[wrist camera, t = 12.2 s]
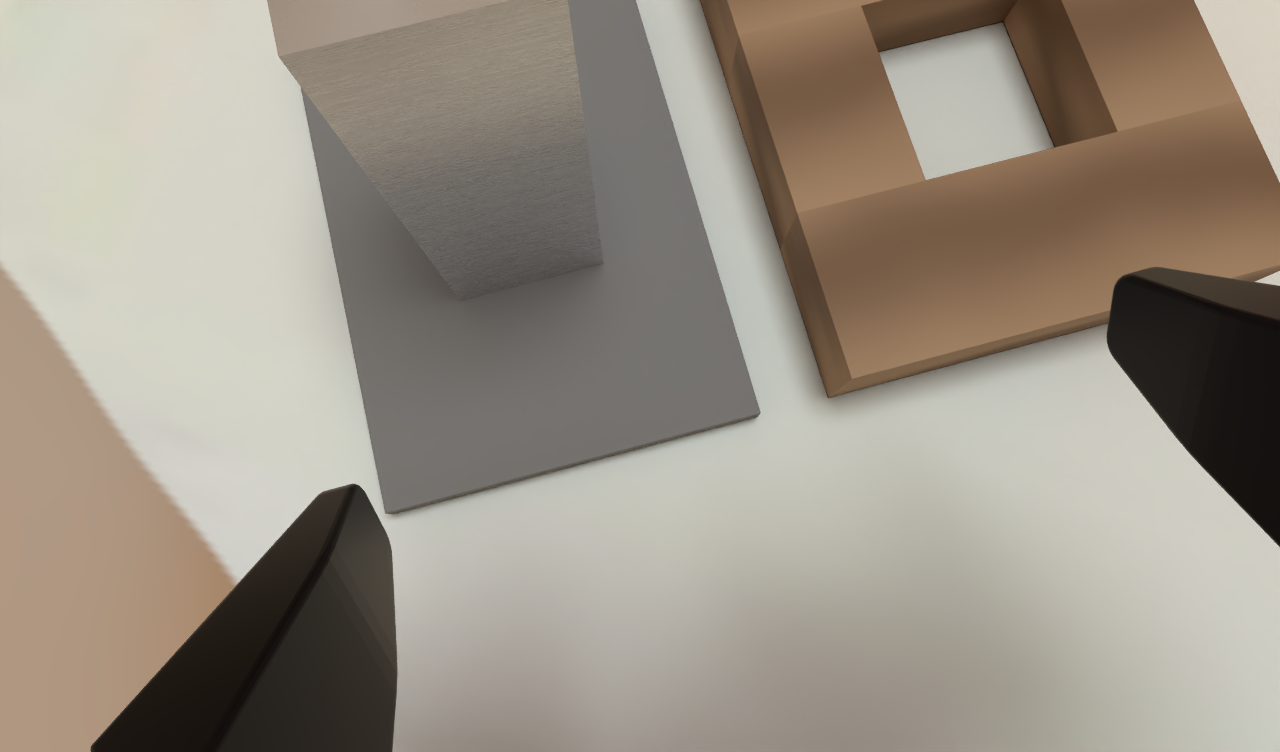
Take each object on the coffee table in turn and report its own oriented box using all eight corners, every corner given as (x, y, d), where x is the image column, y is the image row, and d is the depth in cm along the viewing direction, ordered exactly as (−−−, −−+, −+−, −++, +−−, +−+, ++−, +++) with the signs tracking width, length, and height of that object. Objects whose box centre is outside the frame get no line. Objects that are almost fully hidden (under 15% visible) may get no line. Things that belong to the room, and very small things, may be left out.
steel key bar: (603, 263, 22) (565, -14, 11) (460, 301, 21) (278, 56, 11) (567, 134, 23) (499, -242, 12) (429, 169, 22) (230, -182, 12)
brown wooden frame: (1239, 287, 22) (1314, 255, 20) (828, 397, 22) (851, 378, 19) (1056, -124, 25) (1101, -197, 23) (688, -38, 24) (693, -103, 22)
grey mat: (757, 416, 21) (760, 413, 21) (392, 514, 21) (385, 513, 20) (624, -23, 24) (624, -37, 24) (300, 54, 24) (291, 41, 23)
